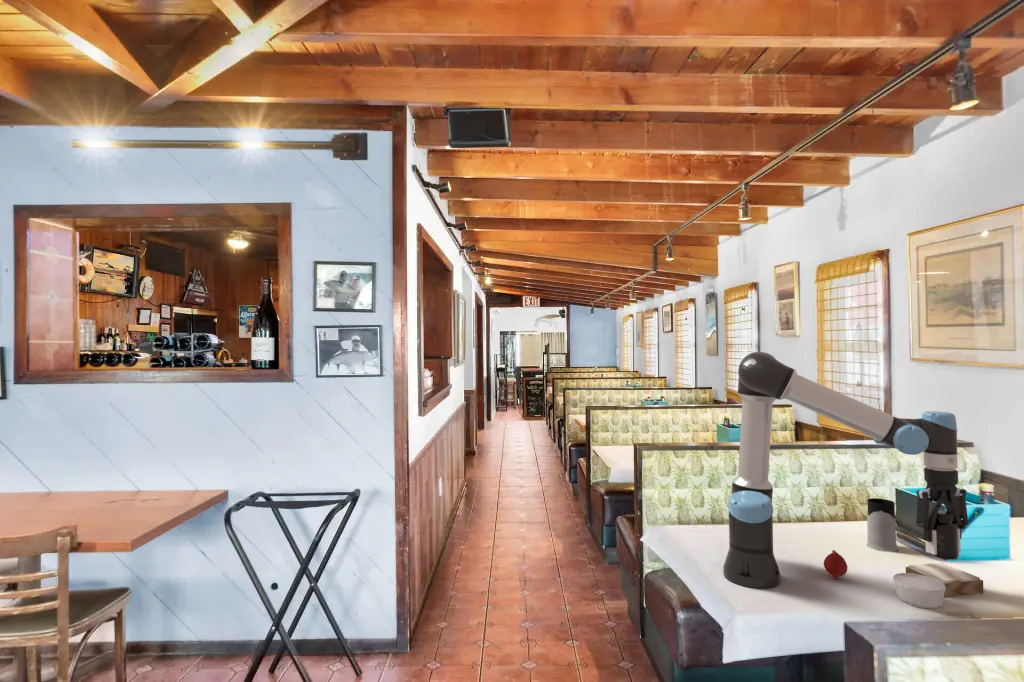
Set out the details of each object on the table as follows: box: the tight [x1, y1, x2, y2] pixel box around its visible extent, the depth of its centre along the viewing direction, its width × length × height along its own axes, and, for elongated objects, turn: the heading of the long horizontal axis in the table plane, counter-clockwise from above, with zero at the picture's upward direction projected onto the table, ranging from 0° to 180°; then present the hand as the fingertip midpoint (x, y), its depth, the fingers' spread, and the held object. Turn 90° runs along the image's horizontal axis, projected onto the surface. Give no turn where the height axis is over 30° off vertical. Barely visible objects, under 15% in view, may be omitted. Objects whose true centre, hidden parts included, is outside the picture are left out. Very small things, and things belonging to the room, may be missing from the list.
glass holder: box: [865, 497, 899, 552], centre depth 189 cm, size 9×14×15 cm, turn 148°
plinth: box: [905, 562, 984, 598], centre depth 155 cm, size 12×12×4 cm
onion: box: [823, 549, 848, 580], centre depth 161 cm, size 6×6×8 cm
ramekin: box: [892, 572, 946, 610], centre depth 147 cm, size 11×11×5 cm
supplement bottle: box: [928, 509, 960, 561], centre depth 156 cm, size 7×7×12 cm
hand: (943, 551), depth 156 cm, fingers closed on supplement bottle, 7 cm apart
